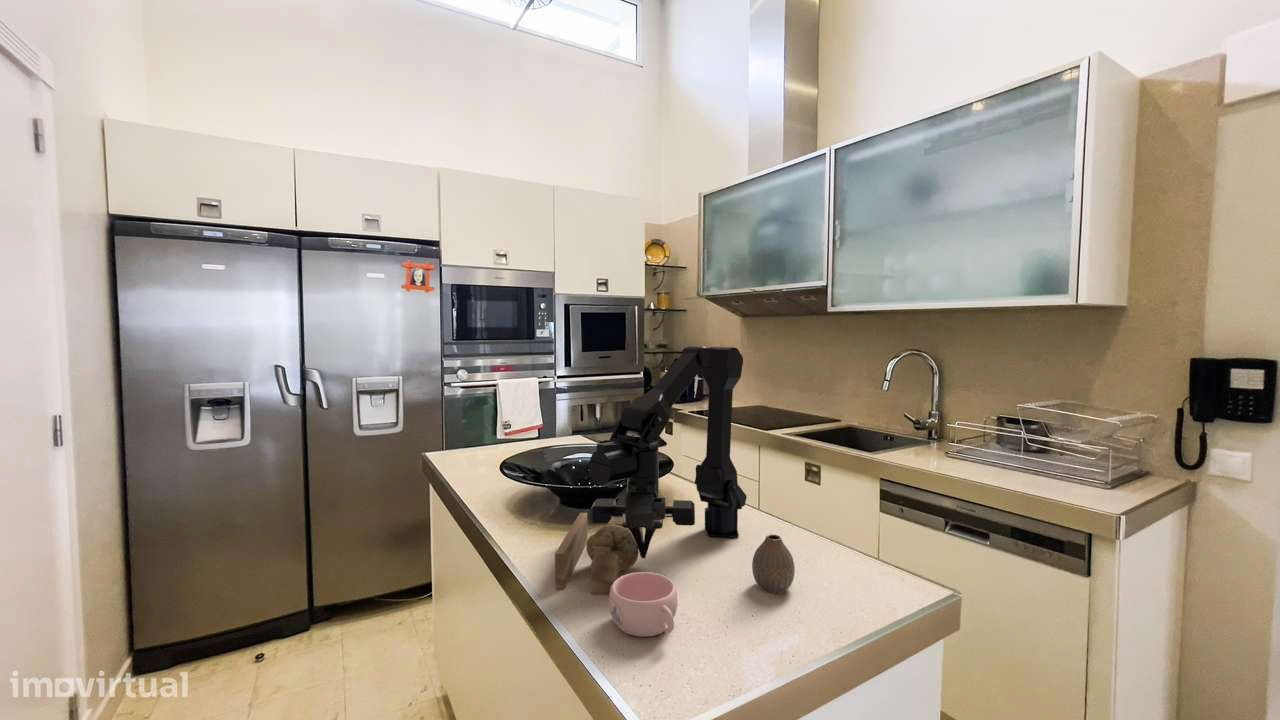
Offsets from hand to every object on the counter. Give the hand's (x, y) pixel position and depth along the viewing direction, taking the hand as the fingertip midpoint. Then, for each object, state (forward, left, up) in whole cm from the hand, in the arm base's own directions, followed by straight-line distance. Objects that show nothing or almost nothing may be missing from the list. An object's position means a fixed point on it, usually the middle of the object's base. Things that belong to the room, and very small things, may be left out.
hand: (643, 557), depth 96 cm
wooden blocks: (+9, 0, -2) cm, 9 cm away
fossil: (+6, +1, -2) cm, 6 cm away
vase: (-22, +6, -2) cm, 23 cm away
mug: (-2, +20, -2) cm, 20 cm away
